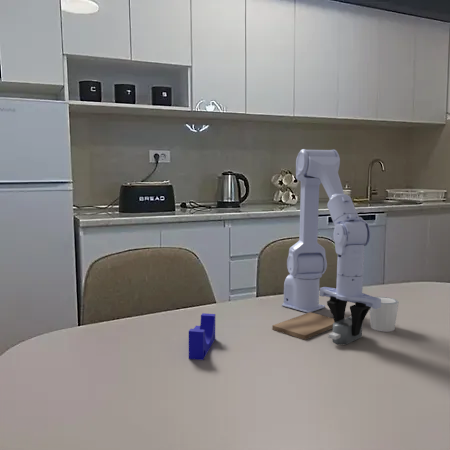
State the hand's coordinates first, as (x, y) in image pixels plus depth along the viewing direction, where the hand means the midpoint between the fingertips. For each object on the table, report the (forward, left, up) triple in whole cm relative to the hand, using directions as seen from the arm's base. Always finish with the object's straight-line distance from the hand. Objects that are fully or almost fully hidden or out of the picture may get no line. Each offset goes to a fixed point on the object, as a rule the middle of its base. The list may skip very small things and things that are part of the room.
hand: (347, 332), depth 105 cm
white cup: (+2, +13, -2) cm, 13 cm away
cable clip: (-19, -28, -2) cm, 34 cm away
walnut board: (-11, 0, -1) cm, 11 cm away
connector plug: (0, 0, -1) cm, 1 cm away
